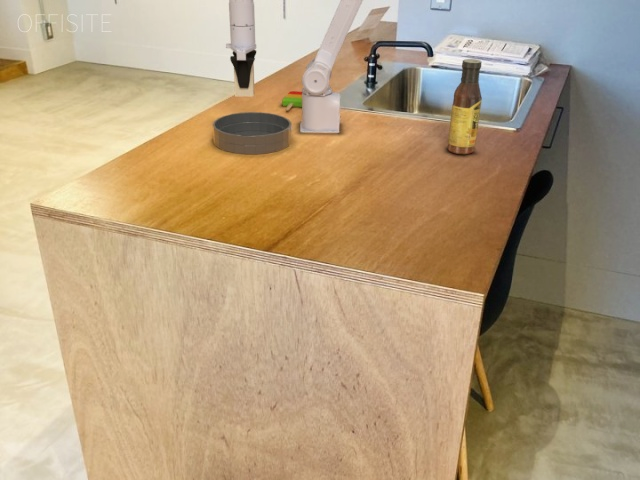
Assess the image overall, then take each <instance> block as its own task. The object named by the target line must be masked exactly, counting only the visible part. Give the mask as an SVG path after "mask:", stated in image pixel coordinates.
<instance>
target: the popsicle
mask: <svg viewBox="0 0 640 480" xmlns="http://www.w3.org/2000/svg"><path fill="white" fill-rule="evenodd" d="M281 104H282V106H283V107H285V111H290V110H291V109H292V108H302V91H297V90H296V91H295V90H291V91H289V92H288V93H287V94H286V95H285V96H284V97H283V98H282V100H281Z"/></svg>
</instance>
